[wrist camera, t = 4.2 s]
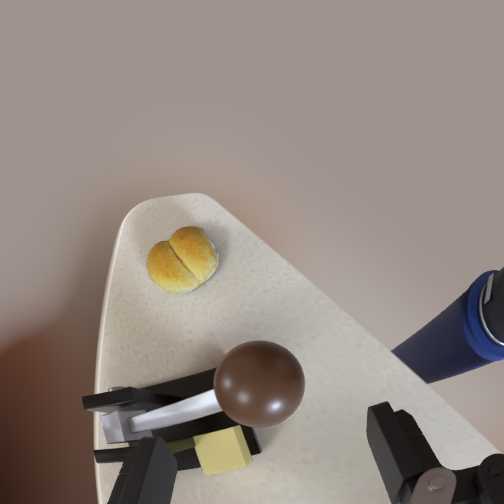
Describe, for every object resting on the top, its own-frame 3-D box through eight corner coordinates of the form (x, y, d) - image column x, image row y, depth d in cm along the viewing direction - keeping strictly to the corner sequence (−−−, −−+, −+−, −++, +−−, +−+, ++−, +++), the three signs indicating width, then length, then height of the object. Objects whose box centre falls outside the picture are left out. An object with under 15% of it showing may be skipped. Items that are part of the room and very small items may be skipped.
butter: (239, 424, 25) (232, 426, 22) (252, 460, 23) (247, 466, 20) (202, 434, 25) (190, 437, 22) (214, 469, 23) (204, 475, 20)
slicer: (232, 365, 29) (186, 331, 18) (262, 451, 24) (235, 483, 12) (121, 395, 29) (37, 373, 17) (143, 473, 24) (61, 491, 12)
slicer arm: (300, 328, 14) (254, 321, 11) (331, 403, 12) (291, 421, 9) (132, 404, 19) (88, 404, 16) (145, 450, 17) (100, 456, 14)
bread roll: (144, 261, 38) (131, 246, 34) (200, 226, 39) (191, 208, 36) (168, 310, 34) (154, 297, 30) (231, 270, 35) (223, 254, 32)
